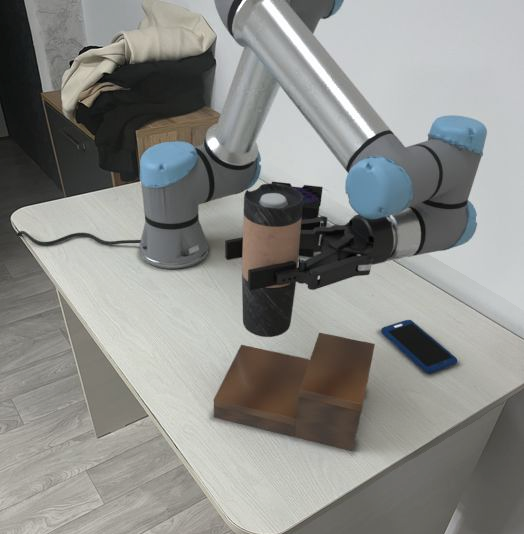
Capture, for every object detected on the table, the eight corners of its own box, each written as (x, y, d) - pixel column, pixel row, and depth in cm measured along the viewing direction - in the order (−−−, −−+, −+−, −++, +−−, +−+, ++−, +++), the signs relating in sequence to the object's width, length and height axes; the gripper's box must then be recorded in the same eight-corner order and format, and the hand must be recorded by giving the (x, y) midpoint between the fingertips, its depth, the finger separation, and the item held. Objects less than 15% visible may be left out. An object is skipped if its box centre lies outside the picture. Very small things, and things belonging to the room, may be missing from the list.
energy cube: (261, 251, 126) (264, 202, 118) (269, 227, 135) (272, 181, 127) (313, 257, 125) (318, 208, 117) (317, 233, 134) (322, 186, 126)
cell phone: (408, 321, 107) (409, 318, 106) (458, 363, 97) (460, 360, 97) (379, 330, 104) (379, 327, 103) (427, 375, 95) (428, 372, 94)
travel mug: (293, 339, 78) (305, 209, 65) (239, 337, 77) (242, 207, 65) (291, 308, 83) (302, 184, 71) (242, 306, 83) (244, 181, 71)
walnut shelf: (213, 417, 85) (212, 370, 79) (240, 361, 95) (241, 316, 89) (352, 451, 81) (363, 404, 74) (364, 389, 91) (375, 343, 85)
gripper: (416, 294, 75) (267, 330, 67) (342, 229, 89) (211, 253, 81) (429, 246, 70) (270, 279, 62) (348, 185, 84) (210, 206, 76)
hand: (237, 264), depth 72 cm, fingers closed on travel mug, 7 cm apart
